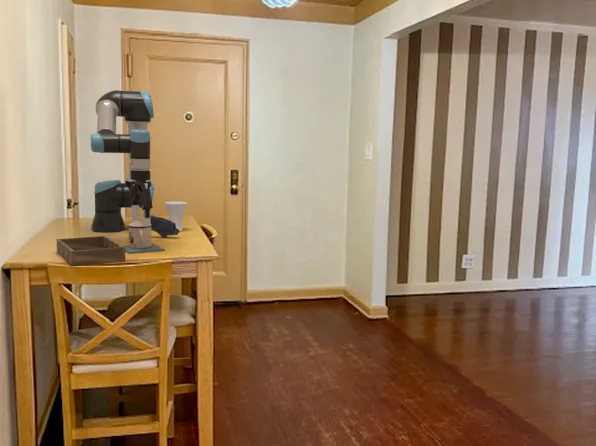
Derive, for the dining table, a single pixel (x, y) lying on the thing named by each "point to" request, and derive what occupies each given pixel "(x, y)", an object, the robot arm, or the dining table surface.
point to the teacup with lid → (139, 235)
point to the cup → (176, 212)
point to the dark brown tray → (90, 250)
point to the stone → (163, 226)
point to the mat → (143, 249)
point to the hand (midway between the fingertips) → (140, 223)
